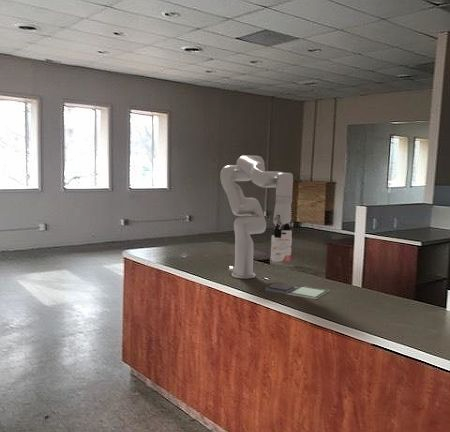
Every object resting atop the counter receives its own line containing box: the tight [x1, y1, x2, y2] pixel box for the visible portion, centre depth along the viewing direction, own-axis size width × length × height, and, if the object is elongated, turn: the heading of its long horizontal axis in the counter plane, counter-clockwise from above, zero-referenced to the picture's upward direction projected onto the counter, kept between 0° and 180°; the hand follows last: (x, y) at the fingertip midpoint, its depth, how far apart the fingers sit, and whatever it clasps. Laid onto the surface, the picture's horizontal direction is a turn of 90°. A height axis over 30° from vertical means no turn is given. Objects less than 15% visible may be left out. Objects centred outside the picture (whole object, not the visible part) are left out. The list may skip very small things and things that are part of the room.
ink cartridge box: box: [270, 229, 293, 263], centre depth 228 cm, size 9×5×15 cm, turn 105°
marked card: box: [286, 285, 330, 300], centre depth 226 cm, size 14×17×1 cm
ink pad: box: [265, 282, 297, 295], centre depth 230 cm, size 11×10×2 cm
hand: (282, 236), depth 227 cm, fingers closed on ink cartridge box, 9 cm apart
